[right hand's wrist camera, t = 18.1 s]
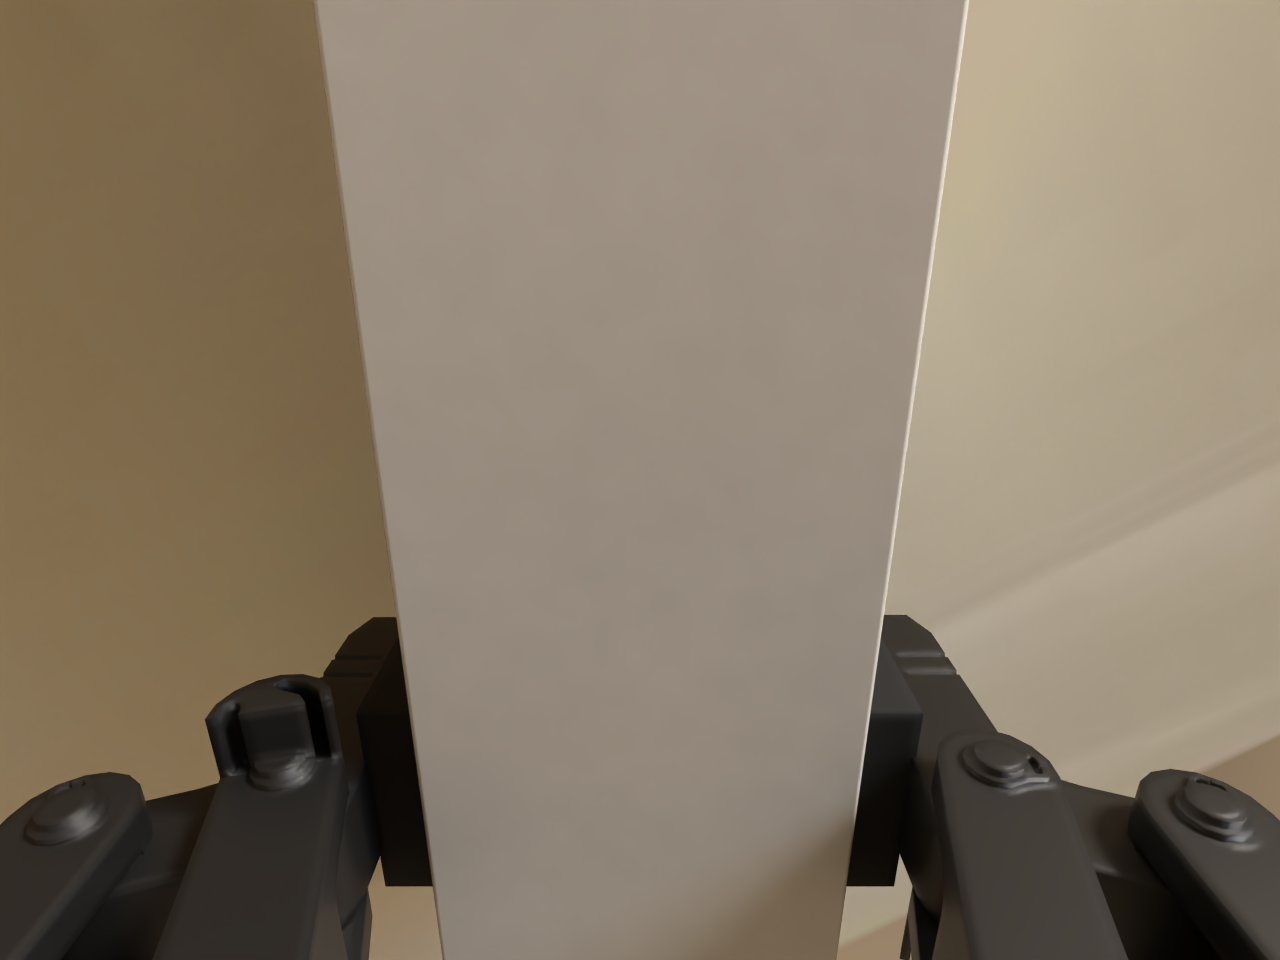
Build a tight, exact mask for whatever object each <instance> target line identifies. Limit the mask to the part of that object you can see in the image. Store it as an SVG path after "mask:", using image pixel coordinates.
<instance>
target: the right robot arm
mask: <svg viewBox="0 0 1280 960" xmlns="http://www.w3.org/2000/svg"><path fill="white" fill-rule="evenodd" d="M205 722H206V725H207V729H208V733H209V737H210V740H211V744H212V748H213V752H214V756H215V759H216V763H217V767H218V771H219V774H220V781H219V783H217V784H214V785H210V786H207V787H204V788H200V789H196V790H192V791H188V792H183V793H179V794H174V795H170V796H166V797H161V798H157V799H153V800H148V801H145V798H144V795H143V792H142V789H141V785H140V784H139V783H138V782H137V781H136V780H134V779H133V778H132V777H131V776H130V775H125V774H119V773H112V772H107V773H100V774H93V775H86V776H82V777H79V778H76V779H73V780H71V781H67V782H65V783H62V784H59V785H56V786H55V787H53V788H51V789H49V790H47V791H45V792H43V793H42V794H40V795H38V796H36V797H34V798H32V799H31V800H29V801H28V802H27V803H25V804H24V805H23V806H22V807H20V808H19V809H18V810H17V811H15V812H14V813H13V814H12V815H10V816H9V817H8V818H7V819H6V820H5V821H4V822H3V823H2V824H1V825H0V960H368V958H369V947H370V936H371V925H372V910H371V904H370V898H369V892H368V885H369V883H370V880H371V878H372V875H373V873H374V870H375V868H376V865H377V862H378V860H379V857H381V862H382V868H383V874H384V880H385V886H433V884H432V876H431V869H430V862H429V854H428V847H427V839H426V832H425V825H424V817H423V810H422V803H421V795H420V788H419V781H418V773H417V766H416V758H415V751H414V744H413V736H412V729H411V722H410V714H409V707H408V700H407V692H406V685H405V677H404V670H403V663H402V655H401V648H400V641H399V633H398V626H397V619H396V617H373V618H372V619H370V620H369V621H368V622H366V623H365V624H363V625H362V626H361V627H359V628H358V629H357V630H355V631H354V632H352V633H351V634H350V635H349V636H348V637H347V639H346V640H345V642H344V643H343V645H342V646H341V648H340V649H339V651H338V652H337V654H336V655H335V660H332V661H331V663H330V664H329V666H328V667H327V669H326V670H325V672H324V676H323V677H321V678H316V677H312V676H308V675H304V674H295V675H279V676H275V677H271V678H267V679H263V680H258V681H256V682H253V683H251V684H249V685H247V686H245V687H242V688H240V689H238V690H236V691H234V692H233V693H231V694H230V695H228V696H227V697H226V698H224V699H223V700H222V701H220V702H219V703H217V704H216V705H215V707H214V708H213V709H212V711H211V712H210V713H209V715H208V716H207V717H206V719H205ZM899 854H900V855H901V858H902V860H903V863H904V865H905V868H906V870H907V873H908V875H909V878H910V880H911V883H912V885H913V887H912V892H911V898H910V903H909V909H908V914H907V919H906V925H905V930H904V936H903V941H902V947H901V954H900V959H903V960H909V959H910V954H911V957H912V960H1280V821H1279V820H1278V819H1277V818H1276V817H1275V816H1274V815H1273V814H1272V813H1271V812H1269V811H1268V810H1267V809H1266V808H1264V807H1263V806H1262V805H1261V804H1259V803H1258V802H1257V801H1256V800H1254V799H1253V798H1252V797H1250V796H1248V795H1247V794H1245V793H1243V792H1241V791H1239V790H1237V789H1236V788H1233V787H1232V786H1230V785H1228V784H1226V783H1224V782H1222V781H1219V780H1216V779H1214V778H1210V777H1208V776H1204V775H1201V774H1198V773H1196V772H1188V771H1181V770H1174V769H1167V770H1161V771H1154V772H1151V773H1149V774H1148V775H1147V776H1146V777H1145V778H1143V779H1142V780H1141V781H1140V784H1139V787H1138V790H1137V793H1136V796H1135V798H1132V797H1127V796H1123V795H1118V794H1114V793H1110V792H1105V791H1101V790H1096V789H1092V788H1088V787H1083V786H1079V785H1076V784H1073V783H1069V782H1066V781H1063V780H1061V779H1060V777H1059V775H1058V774H1057V772H1056V771H1055V769H1054V768H1053V766H1052V764H1051V763H1050V761H1049V760H1047V759H1046V758H1045V757H1044V756H1043V755H1041V754H1040V753H1039V752H1038V751H1037V750H1035V749H1034V748H1033V747H1032V746H1030V745H1028V744H1026V743H1024V742H1022V741H1020V740H1018V739H1016V738H1014V737H1012V736H1010V735H1006V734H1002V733H999V732H997V730H996V729H995V727H994V726H993V724H992V723H991V721H990V720H989V718H988V717H987V715H986V714H985V712H984V711H983V709H982V708H981V706H980V705H979V703H978V702H977V700H976V699H975V697H974V696H973V694H972V693H971V692H970V690H969V689H968V687H967V686H966V684H965V683H964V681H963V680H962V678H961V677H960V675H957V674H956V669H955V668H954V666H953V665H952V663H951V662H950V660H949V659H948V657H945V653H944V651H943V650H942V648H941V647H940V645H939V644H938V642H937V641H936V639H935V638H934V636H933V635H932V633H931V632H929V631H928V630H926V629H925V628H924V627H922V626H921V625H920V624H918V623H917V622H915V621H914V620H913V619H911V618H910V617H908V616H907V615H884V618H883V625H882V632H881V640H880V647H879V654H878V661H877V668H876V676H875V683H874V690H873V697H872V704H871V712H870V719H869V726H868V733H867V740H866V748H865V755H864V762H863V769H862V776H861V784H860V791H859V798H858V805H857V813H856V820H855V827H854V834H853V841H852V849H851V856H850V863H849V870H848V877H847V885H846V886H894V883H895V877H896V871H897V865H898V860H899Z"/></svg>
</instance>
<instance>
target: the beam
mask: <svg viewBox="0 0 1280 960" xmlns="http://www.w3.org/2000/svg"><path fill="white" fill-rule="evenodd" d="M968 5H969V0H313V7H314V15H315V22H316V30H317V37H318V44H319V52H320V59H321V66H322V74H323V81H324V88H325V96H326V103H327V111H328V118H329V125H330V133H331V140H332V147H333V155H334V162H335V169H336V177H337V184H338V192H339V199H340V206H341V214H342V221H343V228H344V236H345V243H346V250H347V258H348V265H349V273H350V280H351V287H352V295H353V302H354V309H355V317H356V324H357V331H358V339H359V346H360V354H361V361H362V368H363V376H364V383H365V390H366V398H367V405H368V412H369V420H370V427H371V435H372V442H373V449H374V457H375V464H376V471H377V479H378V486H379V493H380V501H381V508H382V516H383V523H384V530H385V538H386V545H387V552H388V560H389V567H390V574H391V582H392V589H393V596H394V604H395V611H396V619H397V626H398V633H399V641H400V648H401V655H402V663H403V670H404V677H405V685H406V692H407V700H408V707H409V714H410V722H411V729H412V736H413V744H414V751H415V758H416V766H417V773H418V781H419V788H420V795H421V803H422V810H423V817H424V825H425V832H426V839H427V847H428V854H429V862H430V869H431V876H432V884H433V891H434V898H435V906H436V913H437V920H438V928H439V935H440V943H441V950H442V957H443V960H836V957H837V950H838V942H839V935H840V928H841V921H842V913H843V906H844V899H845V892H846V885H847V877H848V870H849V863H850V856H851V849H852V841H853V834H854V827H855V820H856V813H857V805H858V798H859V791H860V784H861V776H862V769H863V762H864V755H865V748H866V740H867V733H868V726H869V719H870V712H871V704H872V697H873V690H874V683H875V676H876V668H877V661H878V654H879V647H880V640H881V632H882V625H883V618H884V611H885V603H886V596H887V589H888V582H889V575H890V567H891V560H892V553H893V546H894V539H895V531H896V524H897V517H898V510H899V503H900V495H901V488H902V481H903V474H904V466H905V459H906V452H907V445H908V438H909V430H910V423H911V416H912V409H913V402H914V394H915V387H916V380H917V373H918V366H919V358H920V351H921V344H922V337H923V329H924V322H925V315H926V308H927V301H928V293H929V286H930V279H931V272H932V265H933V257H934V250H935V243H936V236H937V229H938V221H939V214H940V207H941V200H942V192H943V185H944V178H945V171H946V164H947V156H948V149H949V142H950V135H951V128H952V120H953V113H954V106H955V99H956V92H957V84H958V77H959V70H960V63H961V55H962V48H963V41H964V34H965V27H966V19H967V12H968Z"/></svg>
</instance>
